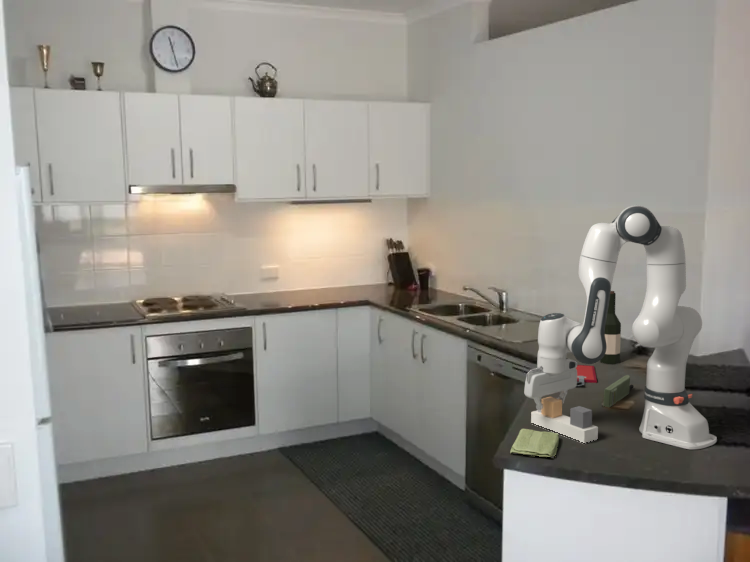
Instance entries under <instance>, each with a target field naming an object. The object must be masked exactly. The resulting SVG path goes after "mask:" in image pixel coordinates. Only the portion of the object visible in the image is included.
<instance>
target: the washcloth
mask: <svg viewBox="0 0 750 562" xmlns="http://www.w3.org/2000/svg"><path fill="white" fill-rule="evenodd" d="M559 436H560V435H559V434H558V433H554V432H552V431H544V430H543V431H539V430H534V429H530V428H529V429H528V428H521V429H520V430H519V432H518V435H517V436H516V439H515V441H514V442H513V444H512V446H511V449H510V450H509V451H510V452H509V454H511V453H518V454H523V455H531V456H530V457H535V456H539V457H540V458H547V457H552V456H555V455H557V451H558V448H557V447H559V442H560V441H559V438H560V437H559ZM523 455H522V456H523ZM532 455H533V456H532ZM555 457H556V456H555Z"/></svg>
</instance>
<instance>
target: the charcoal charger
mask: <svg viewBox="0 0 750 562" xmlns="http://www.w3.org/2000/svg"><path fill="white" fill-rule="evenodd" d="M569 411H570V413H569V415H570V416H569V417H570V424H571V425H574V426H577V427H579V428H582V429H584V428H587V427H590V426H592V425H593V421H592V420H593V410H592V409H590V408H586V407H584V406H581V405H578V406H574V407H571V408H570V409H569Z"/></svg>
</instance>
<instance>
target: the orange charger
mask: <svg viewBox="0 0 750 562" xmlns="http://www.w3.org/2000/svg"><path fill="white" fill-rule="evenodd" d="M557 398H558V397H553V396H547V397H543V398H541V403H542V404H543V409H541V414H543V415H546V416H549V417H551V418H555V417H558V416H562V415H563V404H562V400H560V399H557Z"/></svg>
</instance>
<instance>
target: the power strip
mask: <svg viewBox="0 0 750 562" xmlns="http://www.w3.org/2000/svg"><path fill="white" fill-rule="evenodd" d="M530 412H531V413H530V414H531V415H530V416H531V418H530V424H531V423H534V424H536V425H539V426H542V427H544V428H547V429H550V430H553V431H555V432H558V433H560V434H563V435H566V436H568V437H571V438H573V439H576V440H579V441H580V442H579V443H581V442H583V443H585V444H587V443H586V442H588V443H591V442H594V441H597V439H598V437H599V427H598V426H597V425H594V424H592V426H590V427H587V428H584V429H582V428H579V427H577V426H574V425H571V424H570V416H568V415H565V414H562V416H558V417H555V418H551V417H549V416H546V415H543V414H541V410H538V409H536V410H533V411H530ZM536 425H535V426H536ZM544 428H543V429H544ZM573 439H572V440H573ZM593 440H594V441H593ZM590 441H591V442H590ZM583 443H582V444H583Z"/></svg>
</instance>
